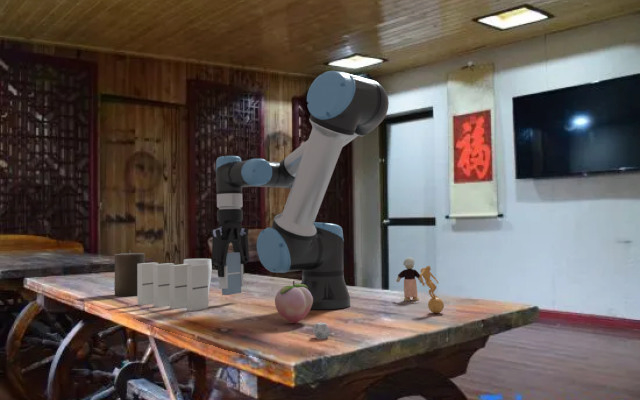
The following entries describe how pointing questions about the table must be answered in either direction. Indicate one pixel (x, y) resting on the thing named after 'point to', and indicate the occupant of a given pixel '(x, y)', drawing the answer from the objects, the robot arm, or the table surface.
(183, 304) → the domino
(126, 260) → the pillar candle
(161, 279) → the domino
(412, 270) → the grandmother figurine
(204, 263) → the cup
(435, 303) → the figurine
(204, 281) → the domino
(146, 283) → the domino
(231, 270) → the blue domino
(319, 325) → the game die
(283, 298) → the decorative fruit
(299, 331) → the table surface
